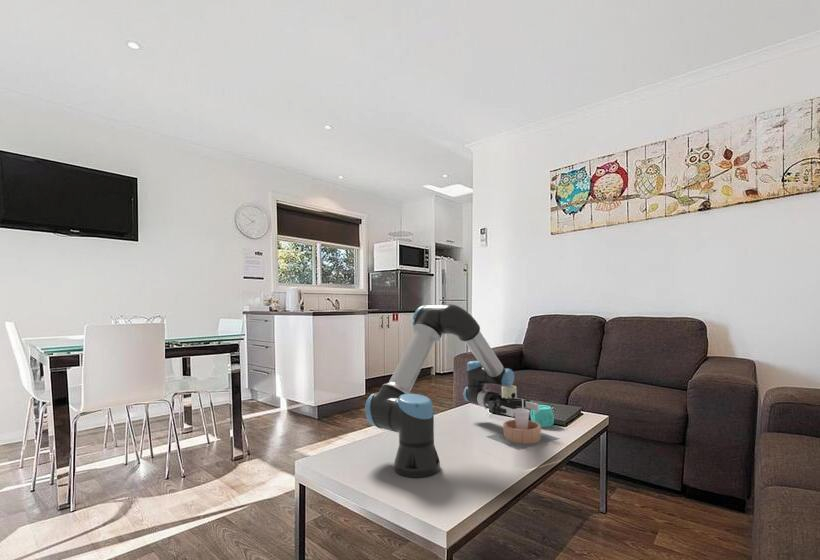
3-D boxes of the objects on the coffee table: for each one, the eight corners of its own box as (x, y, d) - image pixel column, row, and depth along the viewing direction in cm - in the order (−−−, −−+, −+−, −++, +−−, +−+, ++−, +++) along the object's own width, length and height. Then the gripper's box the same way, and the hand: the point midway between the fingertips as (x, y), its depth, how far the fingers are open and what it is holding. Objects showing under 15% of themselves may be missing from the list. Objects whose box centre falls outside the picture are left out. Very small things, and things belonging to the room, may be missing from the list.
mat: (518, 451, 151) (518, 449, 151) (486, 437, 166) (486, 436, 166) (559, 439, 162) (559, 438, 162) (525, 428, 178) (525, 427, 178)
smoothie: (531, 438, 161) (530, 401, 161) (514, 437, 162) (513, 401, 162) (529, 432, 167) (528, 397, 167) (513, 431, 168) (512, 396, 168)
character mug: (512, 417, 195) (511, 389, 195) (498, 415, 199) (497, 387, 200) (521, 412, 203) (520, 385, 204) (507, 410, 208) (506, 383, 208)
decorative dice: (530, 422, 185) (530, 404, 186) (548, 422, 185) (547, 404, 185) (535, 428, 177) (534, 409, 178) (554, 428, 177) (553, 409, 177)
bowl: (522, 446, 155) (522, 432, 155) (496, 436, 167) (496, 423, 167) (548, 439, 162) (548, 426, 162) (522, 429, 174) (521, 417, 174)
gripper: (511, 404, 187) (548, 415, 169) (467, 413, 175) (502, 425, 156) (510, 387, 188) (547, 396, 169) (467, 395, 175) (501, 405, 157)
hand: (525, 410), depth 163 cm, fingers open, 13 cm apart
